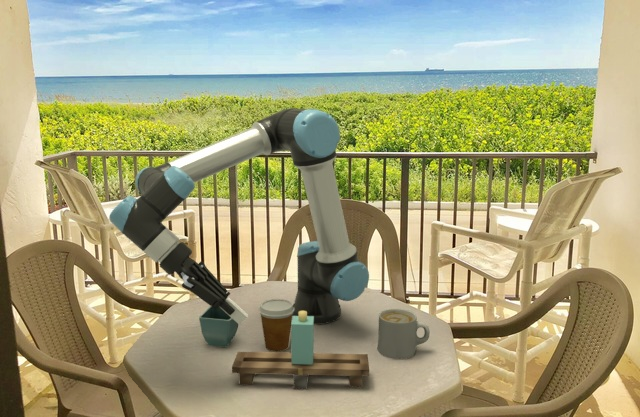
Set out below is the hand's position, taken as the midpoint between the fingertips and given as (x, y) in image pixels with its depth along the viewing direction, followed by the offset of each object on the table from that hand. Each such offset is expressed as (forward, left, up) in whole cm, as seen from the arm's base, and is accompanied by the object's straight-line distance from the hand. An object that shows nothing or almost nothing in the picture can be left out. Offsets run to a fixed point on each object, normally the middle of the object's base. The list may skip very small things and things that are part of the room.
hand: (244, 320), depth 135 cm
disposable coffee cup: (-17, -9, -15) cm, 24 cm away
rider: (-10, +10, -11) cm, 18 cm away
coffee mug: (-40, +16, -15) cm, 46 cm away
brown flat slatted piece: (-10, +9, -15) cm, 20 cm away
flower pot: (-7, -21, -15) cm, 27 cm away
